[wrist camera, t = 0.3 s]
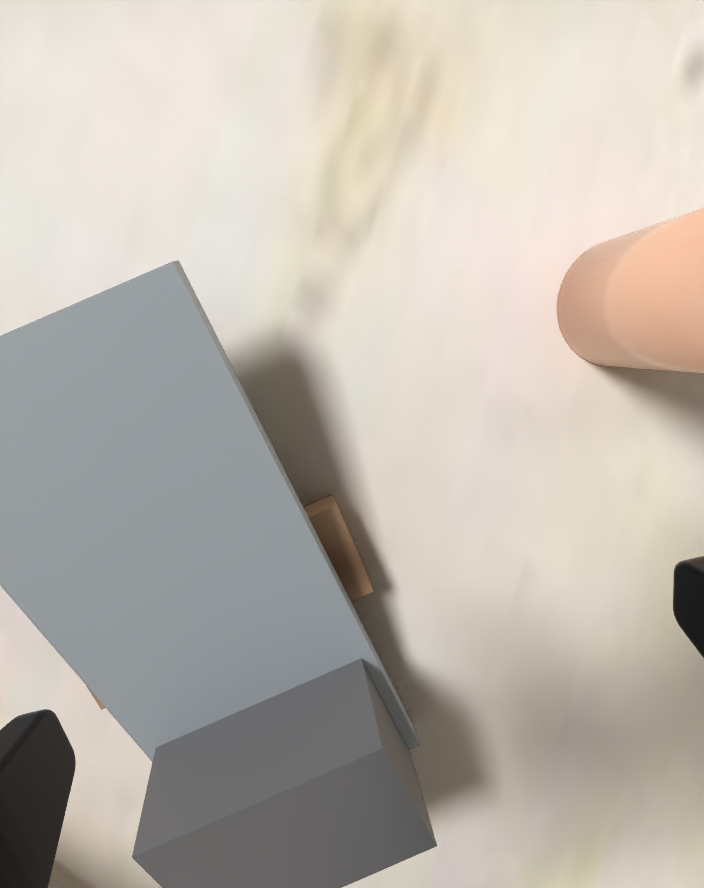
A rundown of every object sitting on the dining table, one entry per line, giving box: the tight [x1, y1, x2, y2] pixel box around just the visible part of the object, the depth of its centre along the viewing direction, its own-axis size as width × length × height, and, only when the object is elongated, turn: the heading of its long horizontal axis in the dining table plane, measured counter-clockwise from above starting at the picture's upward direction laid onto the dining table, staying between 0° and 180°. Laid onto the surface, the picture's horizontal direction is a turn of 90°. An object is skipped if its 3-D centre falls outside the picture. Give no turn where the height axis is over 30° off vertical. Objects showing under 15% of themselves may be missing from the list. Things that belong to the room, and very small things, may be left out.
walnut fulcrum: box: [86, 495, 374, 710], centre depth 21 cm, size 4×12×2 cm, turn 113°
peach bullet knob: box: [557, 208, 704, 373], centre depth 16 cm, size 5×5×9 cm
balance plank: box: [0, 261, 437, 888], centre depth 17 cm, size 22×10×5 cm, turn 23°
